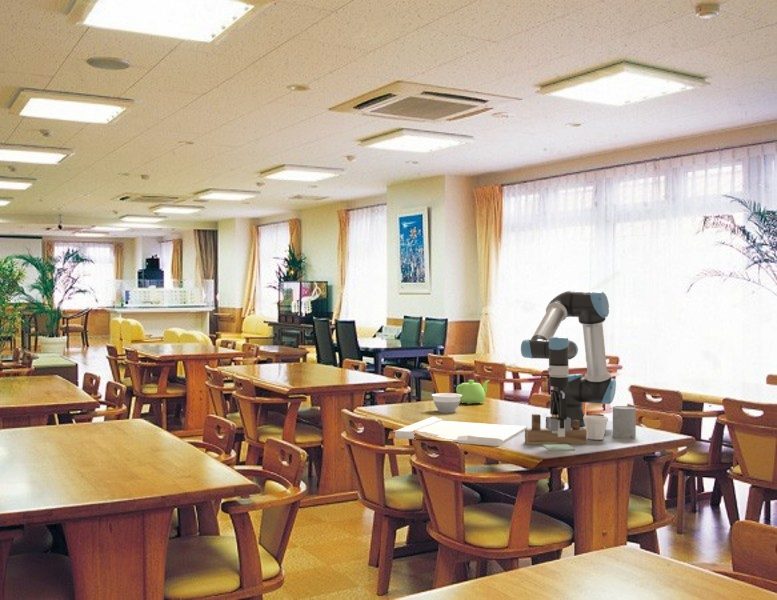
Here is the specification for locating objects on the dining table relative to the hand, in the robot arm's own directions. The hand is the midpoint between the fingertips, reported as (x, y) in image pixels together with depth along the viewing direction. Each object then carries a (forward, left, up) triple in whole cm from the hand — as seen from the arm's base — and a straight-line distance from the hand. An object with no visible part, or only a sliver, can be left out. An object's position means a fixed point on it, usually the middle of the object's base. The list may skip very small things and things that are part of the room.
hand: (558, 434), depth 311 cm
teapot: (-134, -9, -5) cm, 134 cm away
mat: (0, 0, -5) cm, 5 cm away
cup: (-18, +21, -5) cm, 28 cm away
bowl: (-103, -28, -5) cm, 107 cm away
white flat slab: (-36, -31, -6) cm, 48 cm away
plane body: (-11, +2, -5) cm, 12 cm away
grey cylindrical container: (-24, +36, -5) cm, 43 cm away
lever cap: (0, 0, +2) cm, 2 cm away
